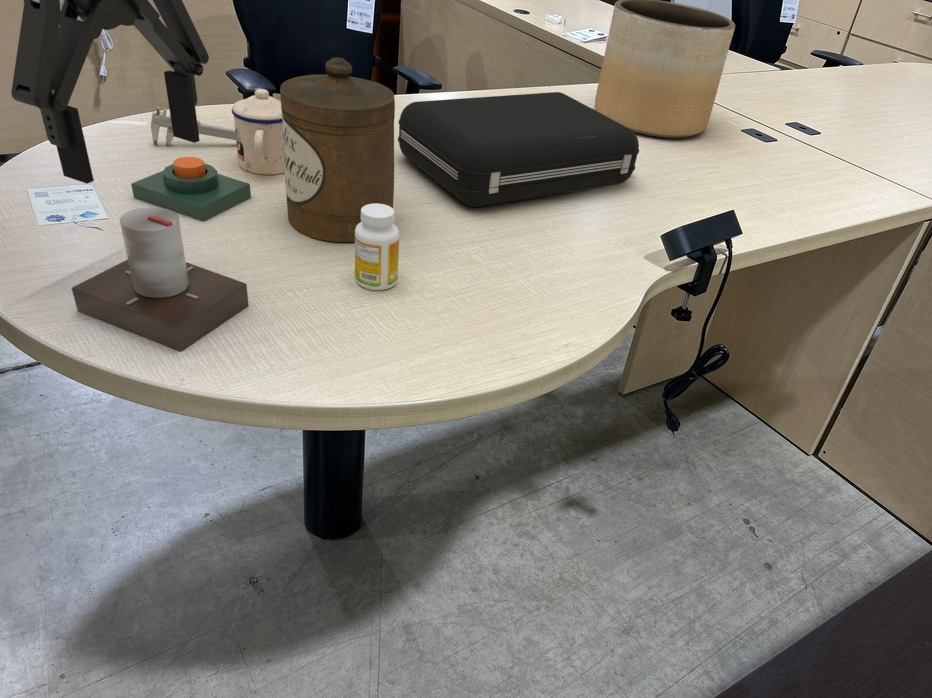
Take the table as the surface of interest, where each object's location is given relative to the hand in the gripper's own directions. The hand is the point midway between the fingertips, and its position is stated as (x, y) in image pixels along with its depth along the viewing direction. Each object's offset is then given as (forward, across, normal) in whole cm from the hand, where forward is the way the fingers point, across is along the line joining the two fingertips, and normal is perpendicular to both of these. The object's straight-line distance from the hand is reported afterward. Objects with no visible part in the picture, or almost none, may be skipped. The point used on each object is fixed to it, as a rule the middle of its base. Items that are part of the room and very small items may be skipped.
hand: (136, 157), depth 72 cm
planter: (+18, +115, -28) cm, 120 cm away
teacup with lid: (+18, +40, +17) cm, 47 cm away
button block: (+18, +25, +18) cm, 35 cm away
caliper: (+18, +42, +28) cm, 54 cm away
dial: (+15, +1, 0) cm, 15 cm away
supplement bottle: (+18, +20, -15) cm, 31 cm away
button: (+14, +25, +18) cm, 33 cm away
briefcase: (+18, +68, -13) cm, 71 cm away
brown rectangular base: (+18, +1, 0) cm, 18 cm away
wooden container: (+18, +32, -2) cm, 36 cm away
